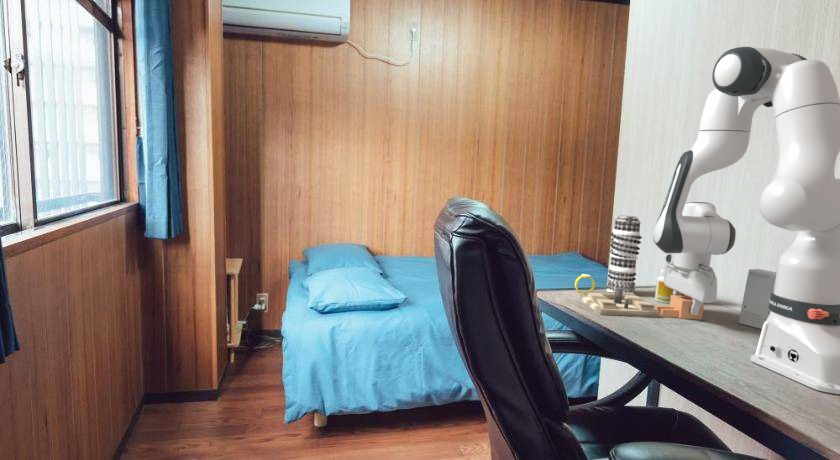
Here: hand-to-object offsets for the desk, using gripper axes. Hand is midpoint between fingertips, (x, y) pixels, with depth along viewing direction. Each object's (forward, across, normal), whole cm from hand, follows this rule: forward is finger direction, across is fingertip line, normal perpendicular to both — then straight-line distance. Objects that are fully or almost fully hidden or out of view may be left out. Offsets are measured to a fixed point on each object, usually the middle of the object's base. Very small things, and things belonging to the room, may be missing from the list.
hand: (685, 310), depth 138 cm
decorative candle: (+2, +25, +8) cm, 26 cm away
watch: (+2, +22, +20) cm, 30 cm away
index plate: (+2, +5, +17) cm, 18 cm away
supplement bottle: (+2, +16, -2) cm, 16 cm away
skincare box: (+2, -7, -16) cm, 18 cm away
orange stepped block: (+2, 0, +2) cm, 3 cm away
